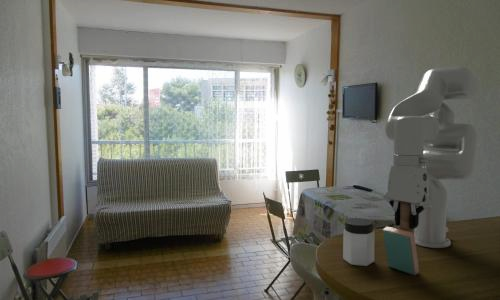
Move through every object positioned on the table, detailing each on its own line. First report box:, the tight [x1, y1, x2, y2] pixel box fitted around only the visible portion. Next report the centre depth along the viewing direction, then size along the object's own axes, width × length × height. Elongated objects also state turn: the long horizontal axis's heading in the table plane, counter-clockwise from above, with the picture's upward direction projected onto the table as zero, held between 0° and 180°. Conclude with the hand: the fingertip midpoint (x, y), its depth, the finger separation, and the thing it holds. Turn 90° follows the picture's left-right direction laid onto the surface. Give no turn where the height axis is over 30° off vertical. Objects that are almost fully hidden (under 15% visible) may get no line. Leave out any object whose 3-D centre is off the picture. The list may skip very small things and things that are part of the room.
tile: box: [382, 226, 420, 276], centre depth 99 cm, size 2×8×12 cm, turn 38°
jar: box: [342, 217, 376, 267], centre depth 108 cm, size 9×8×12 cm
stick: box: [399, 201, 414, 233], centre depth 100 cm, size 3×3×12 cm
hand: (406, 225), depth 101 cm, fingers closed on stick, 3 cm apart
